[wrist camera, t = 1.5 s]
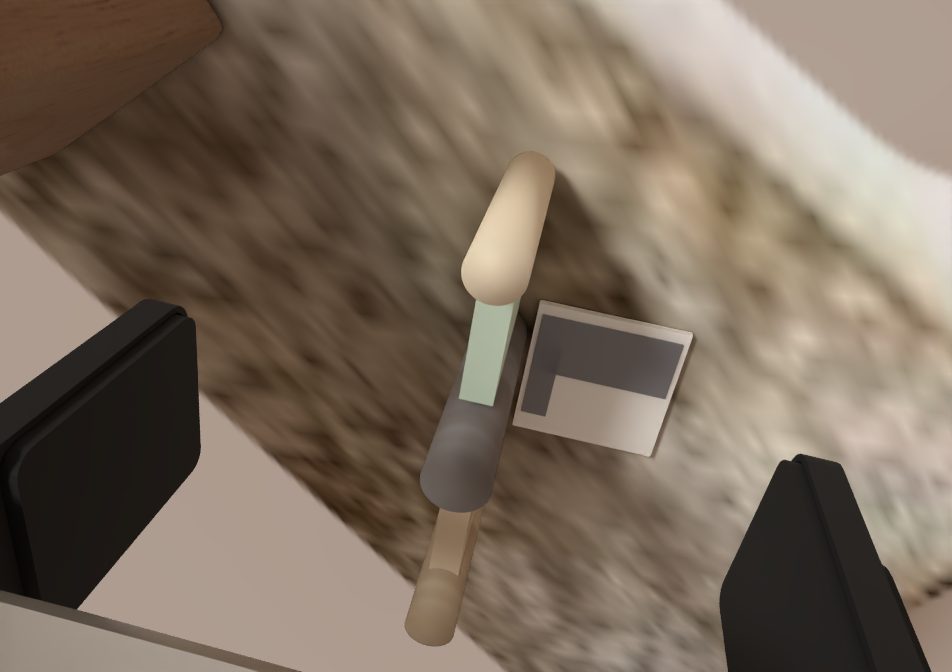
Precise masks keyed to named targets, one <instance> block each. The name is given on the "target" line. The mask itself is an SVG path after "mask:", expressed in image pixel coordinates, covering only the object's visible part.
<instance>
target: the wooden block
mask: <svg viewBox="0 0 952 672" xmlns="http://www.w3.org/2000/svg"><path fill="white" fill-rule="evenodd" d="M222 29H223V28H222V25H221V22H220V20H219V18H218V17H217V15H216V14H215V12H214V11H213V9H212V8H211V6H210V5H209V3H208V1H207V0H0V175H3V174H5V173H8V172H10V171H13V170H16V169H18V168H21V167H23V166H26V165H28V164H31V163H34V162H36V161H39V160H41V159H44V158H46V157H49V156H52V155H54V154H57V153H58V152H59V151H61V150H62V149H64V148H65V147H66V146H68V145H69V144H70V143H72V142H73V141H75V140H76V139H77V138H79V137H80V136H82V135H83V134H84V133H86V132H87V131H89V130H90V129H91V128H93V127H94V126H96V125H97V124H98V123H100V122H101V121H103V120H104V119H105V118H107V117H108V116H110V115H111V114H112V113H114V112H115V111H117V110H118V109H119V108H121V107H122V106H124V105H125V104H126V103H128V102H129V101H131V100H132V99H133V98H135V97H136V96H138V95H139V94H140V93H142V92H143V91H145V90H146V89H147V88H149V87H150V86H152V85H153V84H154V83H156V82H157V81H159V80H160V79H161V78H163V77H164V76H166V75H167V74H168V73H170V72H171V71H172V70H174V69H175V68H177V67H178V66H179V65H181V64H182V63H184V62H185V61H186V60H188V59H189V58H191V57H192V56H193V55H195V54H196V53H198V52H199V51H200V50H202V49H203V48H205V47H206V46H207V45H209V44H210V43H212V42H213V41H214V40H216V39H217V38H218V36H219V34H220V32H221V31H222Z"/></svg>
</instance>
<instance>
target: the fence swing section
mask: <svg viewBox="0 0 952 672" xmlns="http://www.w3.org/2000/svg"><path fill="white" fill-rule="evenodd" d="M554 182H555V170H554V167H553V165H552V163H551V162H550V160H549V159H548V158H547V157H545V156H544V155H542V154H540V153H537V152H524V153H521V154H519V155H517V156H516V157H515V158H514V159H513V160H512V161H511V162H510V164H509V166H508V168H507V170H506V172H505V174H504V176H503V178H502V180H501V182H500V185H499V187H498V189H497V191H496V193H495V195H494V197H493V199H492V202H491V204H490V206H489V208H488V210H487V212H486V214H485V216H484V219H483V221H482V223H481V225H480V227H479V229H478V231H477V233H476V235H475V238H474V240H473V242H472V244H471V246H470V248H469V250H468V252H467V255H466V257H465V259H464V261H463V264H462V268H461V276H462V281H463V284H464V286H465V288H466V289H467V291H468V292H469V293H470V294H471V295H472V296H473V297H474V298H475V299H476V303H475V309H474V315H473V320H472V326H471V332H470V338H469V343H468V349H467V355H466V360H465V366H464V372H463V378H462V383H461V389H460V395H459V399H463V400H467V401H471V402H476V403H480V404H484V405H489V406H493V404H494V400H495V396H496V392H497V389H498V385H499V381H500V377H501V373H502V370H503V366H504V362H505V358H506V354H507V351H508V347H509V343H510V339H511V336H512V332H513V328H514V324H515V320H516V317H517V313H518V309H519V304H520V299H521V296H522V295H523V294H524V292H525V291H526V289H527V287H528V284H529V280H530V276H531V272H532V268H533V264H534V261H535V257H536V253H537V249H538V245H539V241H540V237H541V233H542V229H543V225H544V221H545V217H546V213H547V209H548V205H549V202H550V198H551V194H552V190H553V186H554Z"/></svg>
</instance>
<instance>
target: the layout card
mask: <svg viewBox="0 0 952 672" xmlns="http://www.w3.org/2000/svg"><path fill="white" fill-rule="evenodd" d="M692 338H693V334H692V332H687V331H683V330H678V329H674V328H669V327H664V326H660V325H655V324H651V323H646V322H641V321H637V320H632V319H628V318H623V317H618V316H614V315H609V314H604V313H600V312H595V311H591V310H586V309H581V308H577V307H572V306H568V305H563V304H558V303H554V302H549V301H545V300H540V304H539V308H538V313H537V317H536V322H535V326H534V330H533V335H532V339H531V344H530V348H529V353H528V357H527V362H526V366H525V370H524V375H523V379H522V384H521V388H520V393H519V397H518V401H517V406H516V410H515V415H514V419H513V424H512V425H514V426H519V427H523V428H527V429H532V430H536V431H540V432H545V433H549V434H553V435H558V436H562V437H566V438H571V439H575V440H579V441H584V442H588V443H592V444H597V445H601V446H606V447H610V448H614V449H619V450H623V451H627V452H632V453H636V454H640V455H645V456H649V457H650V456H651V453H652V450H653V447H654V445H655V442H656V439H657V436H658V433H659V431H660V428H661V425H662V422H663V419H664V416H665V414H666V411H667V408H668V405H669V402H670V400H671V397H672V394H673V391H674V388H675V386H676V383H677V380H678V377H679V374H680V371H681V369H682V366H683V363H684V360H685V357H686V355H687V352H688V349H689V346H690V343H691V340H692Z"/></svg>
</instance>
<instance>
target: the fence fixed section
mask: <svg viewBox="0 0 952 672" xmlns="http://www.w3.org/2000/svg"><path fill="white" fill-rule="evenodd" d="M526 337H527V325H526V323H525V320H524V319H523V317H522V316H521V315H520V314H519V313H517V317H516V320H515V324H514V328H513V332H512V336H511V339H510V343H509V347H508V351H507V354H506V358H505V362H504V366H503V370H502V373H501V377H500V381H499V385H498V389H497V392H496V396H495V400H494V404H493V406H489V405H484V404H480V403H476V402H471V401H467V400H463V399H459V395H460V389H461V383H462V378H463V372H464V366H465V360H466V355H467V349H468V345H467V348H466V351H465V353H464V356H463V359H462V362H461V364H460V367H459V370H458V372H457V375H456V378H455V381H454V383H453V386H452V389H451V392H450V394H449V397H448V400H447V403H446V405H445V408H444V411H443V414H442V416H441V419H440V422H439V424H438V427H437V430H436V433H435V435H434V438H433V441H432V444H431V446H430V449H429V452H428V455H427V457H426V460H425V463H424V466H423V468H422V471H421V474H420V485H421V488H422V491H423V493H424V494H425V496H426V497H427V498H428V499H429V500H430V501H431V502H432V503H433V504H435V505H436V506H438V507H440V509H439V514H438V517H437V520H436V524H435V527H434V530H433V533H432V536H431V540H430V543H429V546H428V549H427V553H426V556H425V559H424V562H423V566H422V569H421V572H420V575H419V579H418V582H417V585H416V588H415V591H414V595H413V598H412V601H411V605H410V608H409V611H408V615H407V618H406V621H405V629H406V631H407V633H408V634H409V636H410V637H411V638H413V639H414V640H415V641H417V642H419V643H421V644H424V645H427V646H442V645H445V644H447V643H449V642H450V641H451V639H452V638H453V636H454V632H455V627H456V623H457V619H458V614H459V610H460V606H461V602H462V597H463V593H464V589H465V584H466V580H467V576H468V572H469V567H470V563H471V559H472V554H473V550H474V546H475V542H476V537H477V533H478V529H479V525H480V520H481V516H482V512H483V507H484V505H485V504H486V503H487V501H488V500H489V498H490V496H491V493H492V488H493V484H494V479H495V475H496V470H497V466H498V462H499V457H500V453H501V448H502V444H503V439H504V435H505V431H506V426H507V422H508V417H509V413H510V408H511V404H512V399H513V395H514V391H515V386H516V382H517V377H518V373H519V368H520V364H521V360H522V355H523V351H524V346H525V342H526ZM468 343H469V342H468Z"/></svg>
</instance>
